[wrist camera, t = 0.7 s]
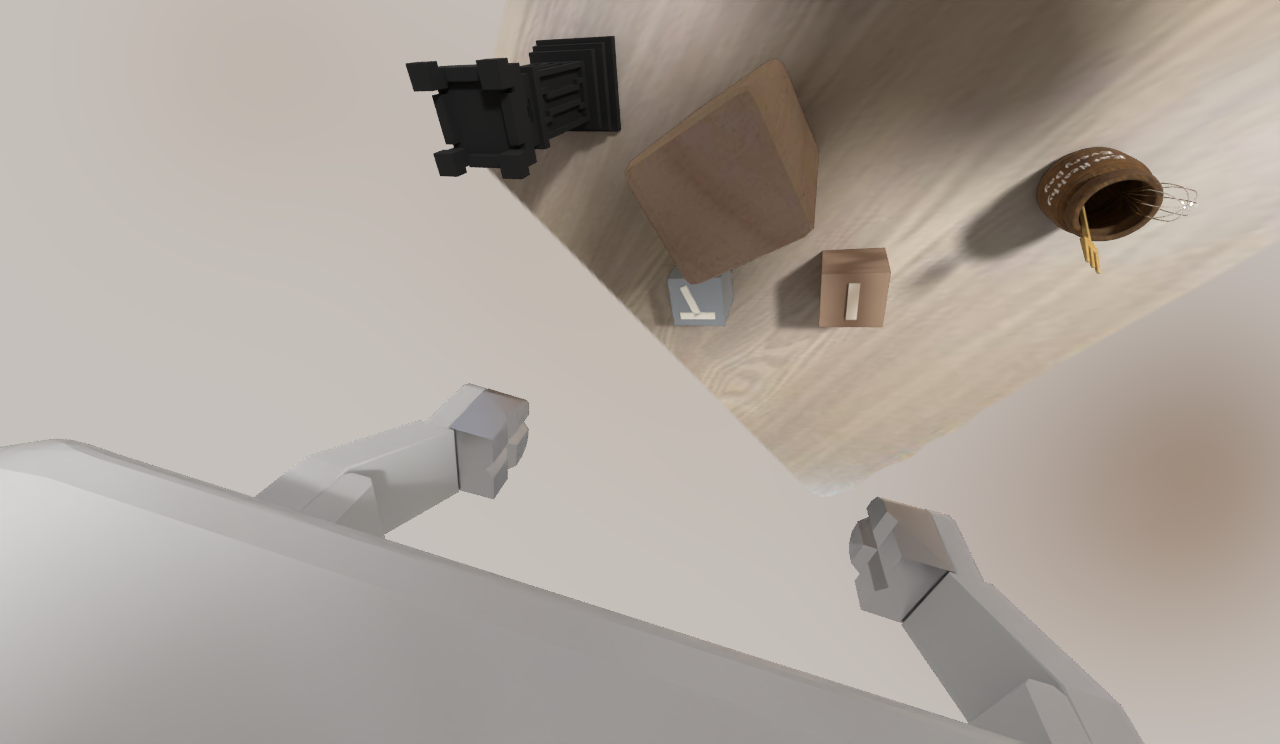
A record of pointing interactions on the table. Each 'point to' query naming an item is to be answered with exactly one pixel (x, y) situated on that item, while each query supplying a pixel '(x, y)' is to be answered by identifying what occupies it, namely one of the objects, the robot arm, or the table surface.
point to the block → (731, 177)
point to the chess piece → (521, 103)
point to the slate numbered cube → (700, 300)
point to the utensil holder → (1101, 196)
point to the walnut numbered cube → (854, 287)
